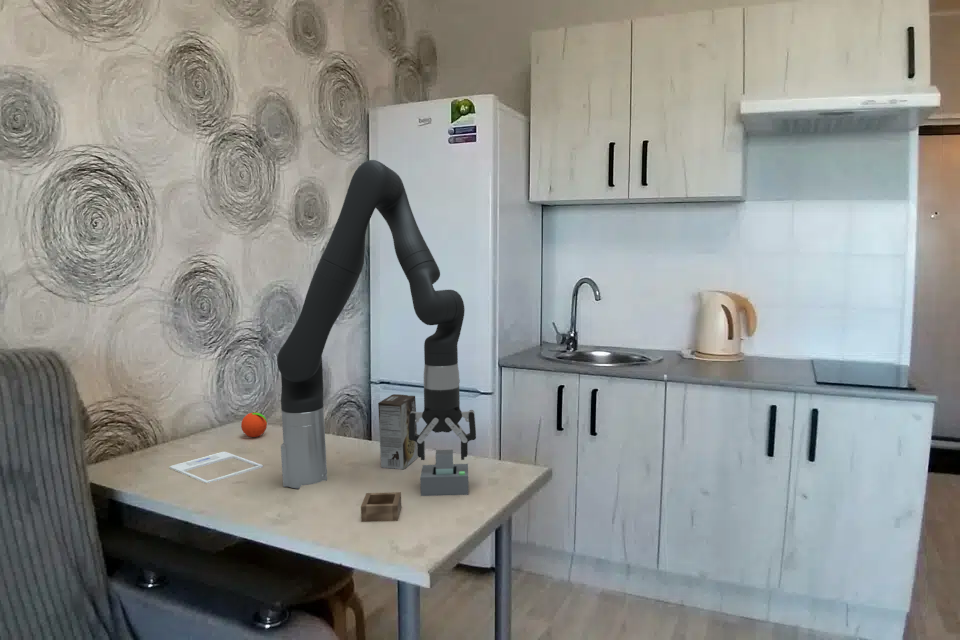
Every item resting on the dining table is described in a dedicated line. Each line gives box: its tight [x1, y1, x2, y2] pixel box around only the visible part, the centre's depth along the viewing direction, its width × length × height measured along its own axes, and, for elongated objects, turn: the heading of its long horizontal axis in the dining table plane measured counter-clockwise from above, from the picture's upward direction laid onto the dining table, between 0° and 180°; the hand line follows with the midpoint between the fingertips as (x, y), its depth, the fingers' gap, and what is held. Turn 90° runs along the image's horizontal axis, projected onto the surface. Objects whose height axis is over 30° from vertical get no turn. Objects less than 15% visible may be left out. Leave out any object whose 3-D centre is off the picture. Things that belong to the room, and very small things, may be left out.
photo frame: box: [168, 450, 264, 484], centre depth 170 cm, size 15×1×18 cm
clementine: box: [240, 411, 268, 438], centre depth 195 cm, size 8×7×7 cm
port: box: [419, 463, 469, 497], centre depth 150 cm, size 10×8×5 cm
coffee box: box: [378, 394, 419, 470], centre depth 170 cm, size 9×6×16 cm
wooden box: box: [360, 491, 403, 523], centre depth 137 cm, size 7×7×4 cm
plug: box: [435, 449, 454, 475], centre depth 149 cm, size 4×4×8 cm
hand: (442, 459), depth 148 cm, fingers open, 8 cm apart
